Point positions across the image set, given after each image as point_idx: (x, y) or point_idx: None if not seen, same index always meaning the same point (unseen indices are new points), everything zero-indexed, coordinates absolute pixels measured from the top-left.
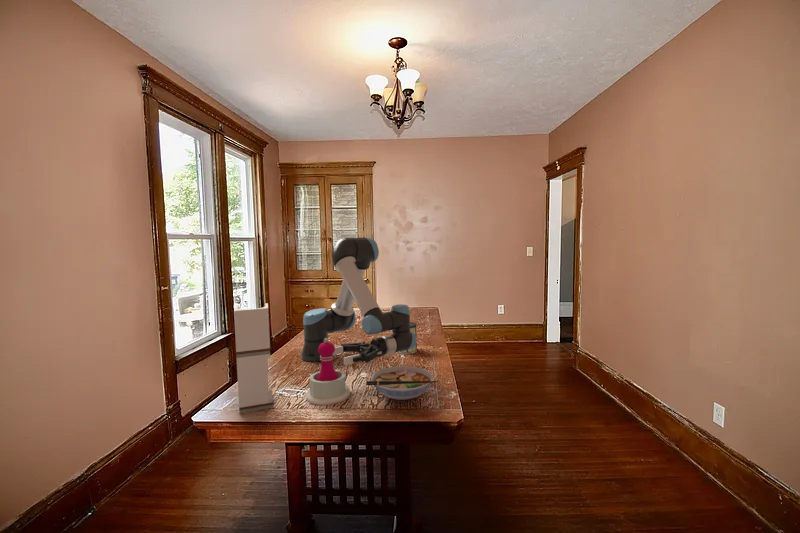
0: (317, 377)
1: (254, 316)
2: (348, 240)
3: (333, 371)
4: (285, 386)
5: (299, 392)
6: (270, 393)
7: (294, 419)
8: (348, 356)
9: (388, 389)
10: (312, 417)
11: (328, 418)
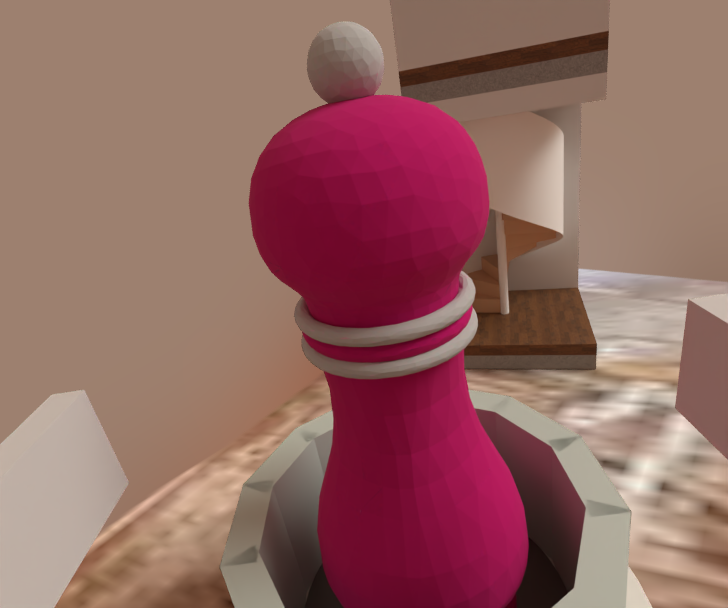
0: (538, 471)
1: None
2: None
3: (341, 494)
4: None
5: None
6: (546, 340)
7: (269, 415)
8: (20, 453)
9: None
10: (219, 469)
11: (134, 527)
